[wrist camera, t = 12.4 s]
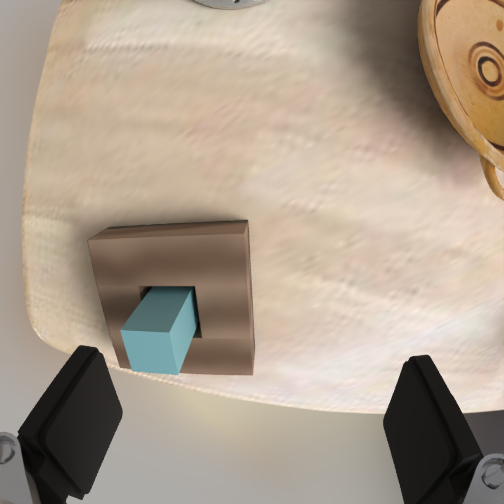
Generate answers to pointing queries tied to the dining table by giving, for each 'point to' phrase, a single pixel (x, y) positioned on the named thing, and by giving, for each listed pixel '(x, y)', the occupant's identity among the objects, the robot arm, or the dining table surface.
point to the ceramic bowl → (468, 72)
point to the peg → (161, 329)
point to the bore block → (183, 274)
